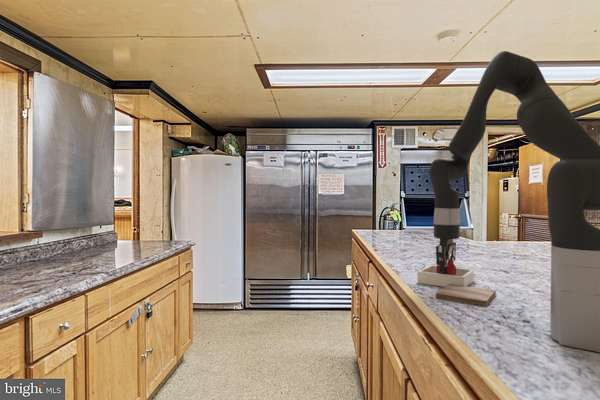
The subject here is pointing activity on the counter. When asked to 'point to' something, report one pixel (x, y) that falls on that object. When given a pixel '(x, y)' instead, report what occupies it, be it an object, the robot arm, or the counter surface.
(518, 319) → the counter surface
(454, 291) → the board
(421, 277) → the shallow wooden tray
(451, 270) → the onion
